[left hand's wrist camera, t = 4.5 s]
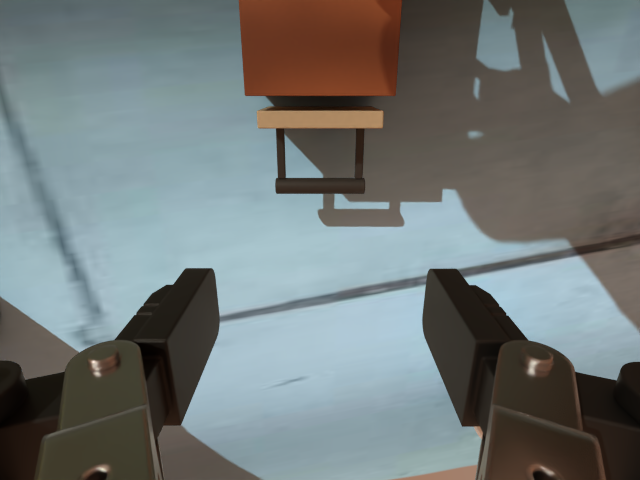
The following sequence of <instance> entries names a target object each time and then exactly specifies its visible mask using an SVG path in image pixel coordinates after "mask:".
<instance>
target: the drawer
mask: <svg viewBox="0 0 640 480" xmlns="http://www.w3.org/2000/svg"><path fill="white" fill-rule="evenodd" d="M383 115H384V112H383V111H382V110H379V109H377V108H374V107H371V106H269V107H266V108H264V109H261V110H259V111H257V122H258V128H276V138H277V164H278V178H276V184H275V186H276V193H277V194H364V192H365V179H364V178H362V175H363V150H364V128H383ZM284 128H356V153H355V178H285V177H286V170H285V138H284Z"/></svg>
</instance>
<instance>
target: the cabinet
mask: <svg viewBox="0 0 640 480" xmlns="http://www.w3.org/2000/svg"><path fill="white" fill-rule="evenodd" d="M401 8H402V0H239V11H240V26H241V42H242V57H243V73H244V88H245V96H395V95H396V84H397V68H398V53H399V38H400V23H401Z"/></svg>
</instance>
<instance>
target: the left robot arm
mask: <svg viewBox="0 0 640 480" xmlns="http://www.w3.org/2000/svg"><path fill="white" fill-rule="evenodd" d="M219 321H220V319H219V307H218V298H217V289H216V279H215V273H214V270H213V269H212V268H186V269H185V270H184V271H183V272H182V274H181V275H180V276H179V278H178V279H177V280H176V282H175V283H174V284H173V285H166V286H164V287H162V288H161V289H159V290H157V291H156V292H154V293H152V294H151V296H150V297H149V298H148V299H147V301H146V302H145V303H144V306H142V307H141V308H140V309H139V310H138V312H137V314H136V315H134V317H133V318H132V319H131V320H130V321H129V323H128V324H127V325H126V326H125V328H124V329H123V330H122V331H121V333H120V334H119V335H118V336H117V337H116V339H115V340H113V341H107V342H103V343H99V344H96V345H93V346H91V347H89V348H87V349H85V350H83V351H81V352H80V353H78V354H77V355H76V356H75V357H73V358H72V359H71V360H70V362H69V363H68V365H67V366H66V369H65V372H62V373H57V374H52V375H47V376H42V377H37V378H32V379H27V380H25V379H24V376H23V373H22V370H21V367H20V366H19V365H18V364H17V363H15V362H12V361H0V480H165V478H164V472H163V465H162V458H161V452H160V446H159V441H158V436H159V434H160V431H161V429H162V427H163V425H181V424H182V421H183V419H184V416H185V414H186V411H187V409H188V407H189V404H190V402H191V399H192V397H193V394H194V392H195V390H196V387H197V385H198V382H199V380H200V377H201V375H202V373H203V370H204V368H205V365H206V363H207V360H208V358H209V356H210V353H211V351H212V348H213V346H214V343H215V341H216V339H217V336H218V332H219ZM422 322H423V332H424V336H425V339H426V341H427V344H428V346H429V349H430V351H431V353H432V356H433V358H434V360H435V363H436V365H437V368H438V370H439V372H440V375H441V377H442V380H443V382H444V384H445V387H446V389H447V392H448V394H449V396H450V399H451V401H452V403H453V406H454V408H455V411H456V413H457V415H458V418H459V420H460V423H461V425H462V426H480V428H481V430H482V432H483V435H482V441H481V446H480V452H479V458H478V465H477V472H476V478H475V480H640V362H631V363H627V364H625V365H624V366H622V368H621V370H620V373H619V376H618V379H617V381H616V380H611V379H607V378H602V377H597V376H592V375H587V374H582V373H578V372H575V369H574V366H573V365H572V363H571V362H570V360H569V359H568V358H567V357H565V356H564V355H563V354H562V353H560V352H559V351H557V350H555V349H553V348H551V347H549V346H547V345H544V344H541V343H537V342H533V341H528V339H527V338H526V337H525V336H524V334H523V333H522V332H521V331H520V330H519V328H518V327H517V326H516V325H515V324H514V322H513V321H512V320H511V319H510V317H509V316H506V313H505V311H504V310H503V309H502V308H501V307H499V304H498V303H497V302H496V300H495V299H494V298H493V297H492V296H491V294H489V293H487V292H486V291H484V290H483V289H481V288H479V287H478V286H476V285H469V284H468V283H467V282H466V280H465V279H464V278H463V276H462V275H461V274H460V272H459V271H458V270H457V269H429V271H428V274H427V280H426V290H425V299H424V308H423V319H422Z"/></svg>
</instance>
